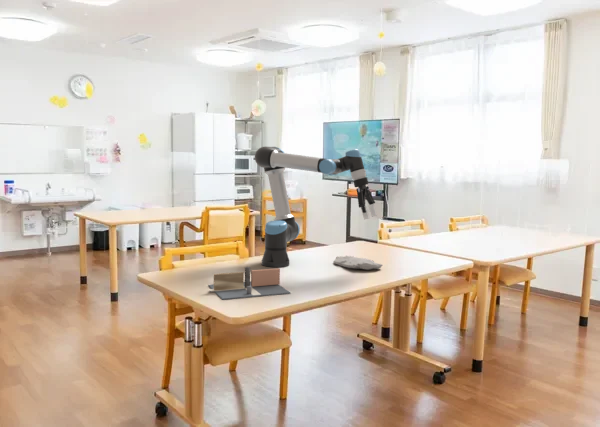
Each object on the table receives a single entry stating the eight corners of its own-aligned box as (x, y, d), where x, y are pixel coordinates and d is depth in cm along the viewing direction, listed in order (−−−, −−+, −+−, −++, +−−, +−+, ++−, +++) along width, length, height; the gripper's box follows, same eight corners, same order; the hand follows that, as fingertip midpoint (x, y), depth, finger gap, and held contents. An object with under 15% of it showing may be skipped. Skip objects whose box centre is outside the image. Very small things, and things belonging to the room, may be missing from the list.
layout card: (204, 286, 234) (204, 278, 234) (271, 280, 247) (271, 273, 247) (217, 300, 212) (217, 291, 212) (290, 293, 225) (290, 285, 225)
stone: (385, 269, 277) (345, 260, 300) (385, 259, 276) (345, 251, 299) (362, 275, 266) (322, 265, 289) (362, 265, 265) (322, 256, 288)
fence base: (213, 289, 227) (213, 269, 226) (249, 286, 233) (249, 266, 232) (214, 290, 225) (214, 270, 224) (250, 287, 231) (250, 267, 230)
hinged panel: (251, 285, 233) (251, 270, 233) (278, 283, 239) (278, 268, 238) (252, 286, 232) (252, 271, 231) (279, 284, 237) (279, 269, 236)
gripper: (359, 177, 262) (370, 218, 261) (373, 175, 284) (383, 213, 284) (345, 181, 265) (356, 221, 265) (360, 179, 287) (371, 216, 287)
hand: (370, 217), depth 274 cm, fingers open, 13 cm apart
